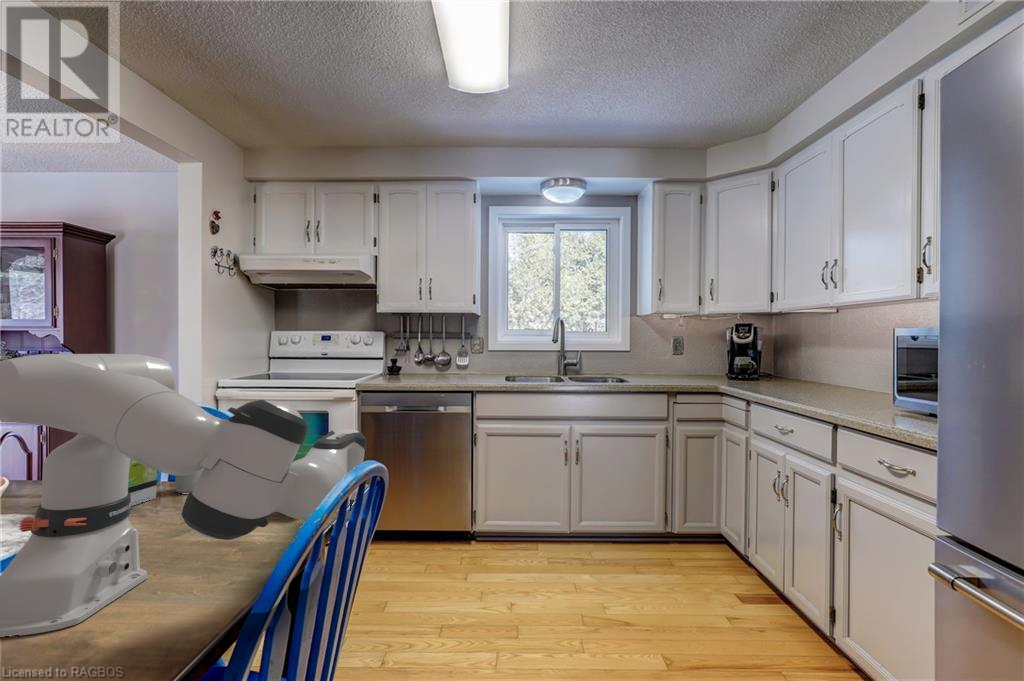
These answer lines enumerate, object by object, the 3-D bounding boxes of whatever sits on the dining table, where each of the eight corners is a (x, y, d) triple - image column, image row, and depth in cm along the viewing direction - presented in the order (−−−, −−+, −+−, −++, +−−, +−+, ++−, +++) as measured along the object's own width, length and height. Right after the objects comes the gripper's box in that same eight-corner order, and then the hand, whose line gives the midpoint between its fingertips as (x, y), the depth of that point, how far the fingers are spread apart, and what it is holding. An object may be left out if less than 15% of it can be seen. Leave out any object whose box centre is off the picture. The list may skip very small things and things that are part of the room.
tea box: (100, 518, 112) (103, 454, 112) (64, 514, 113) (67, 451, 113) (158, 498, 126) (160, 442, 127) (125, 495, 128) (127, 439, 128)
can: (195, 495, 130) (197, 450, 130) (168, 494, 130) (169, 449, 130) (213, 487, 137) (215, 445, 137) (187, 486, 137) (189, 444, 137)
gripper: (301, 507, 113) (246, 503, 114) (342, 483, 133) (295, 480, 135) (302, 480, 113) (247, 477, 114) (343, 460, 133) (296, 458, 135)
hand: (273, 478), depth 125 cm, fingers closed
